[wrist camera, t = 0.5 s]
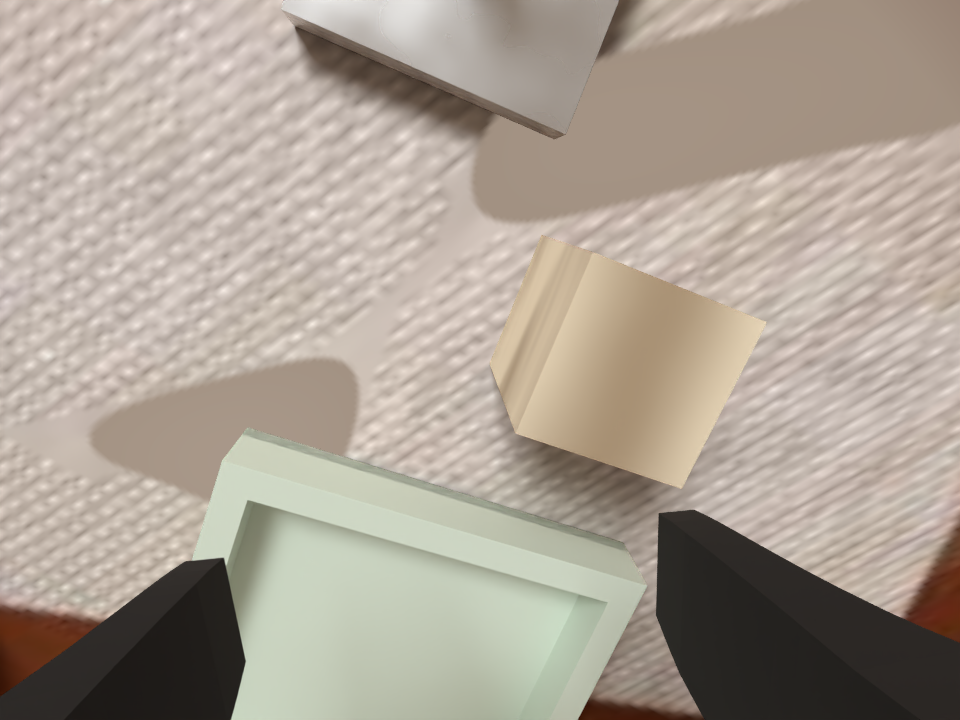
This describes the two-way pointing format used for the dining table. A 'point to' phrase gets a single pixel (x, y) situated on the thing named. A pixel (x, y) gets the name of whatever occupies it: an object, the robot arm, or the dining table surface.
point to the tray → (405, 594)
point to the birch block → (618, 362)
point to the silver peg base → (476, 48)
